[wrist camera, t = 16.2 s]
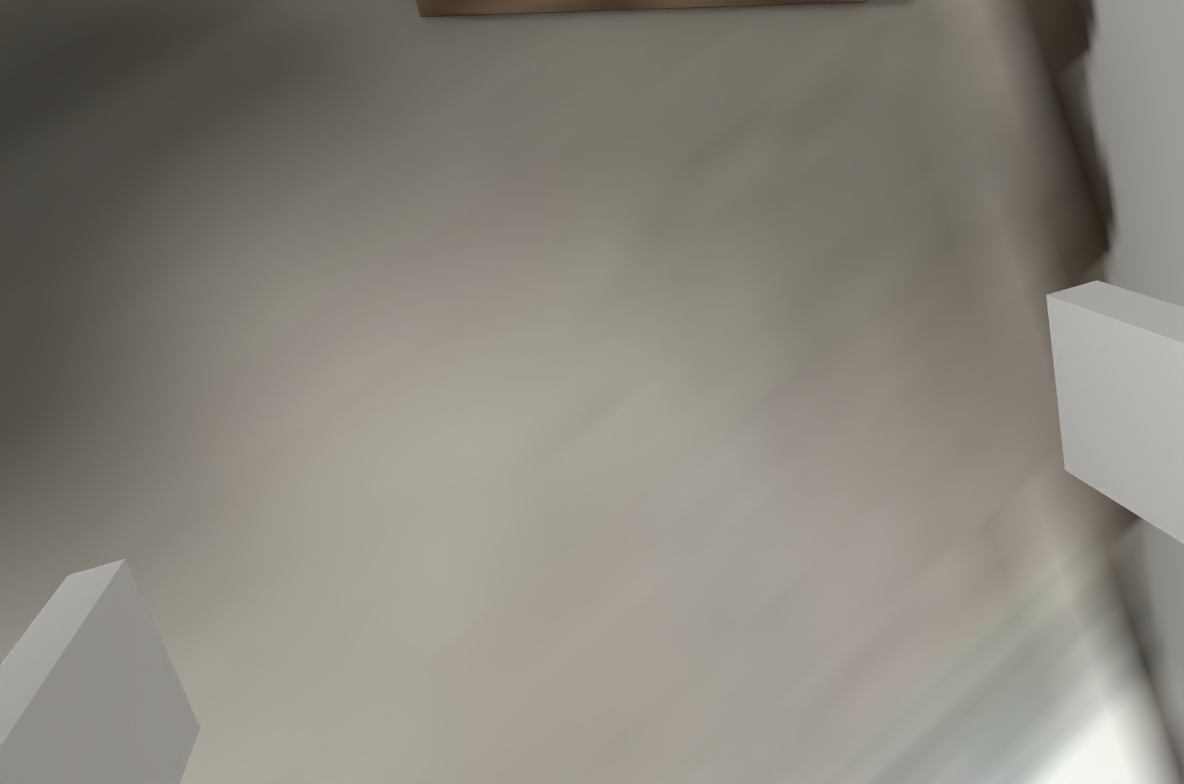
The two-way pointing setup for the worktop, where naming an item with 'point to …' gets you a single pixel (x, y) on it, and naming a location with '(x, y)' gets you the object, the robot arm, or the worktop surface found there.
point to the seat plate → (580, 5)
